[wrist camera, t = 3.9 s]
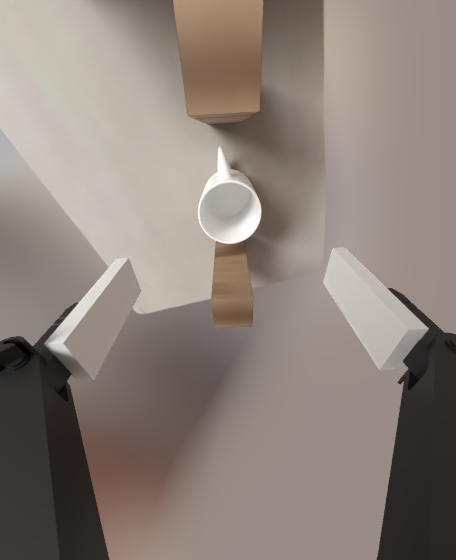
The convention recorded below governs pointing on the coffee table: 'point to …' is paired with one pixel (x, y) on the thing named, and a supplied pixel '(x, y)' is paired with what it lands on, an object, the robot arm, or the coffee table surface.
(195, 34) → the post near
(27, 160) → the coffee table surface
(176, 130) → the coffee table surface
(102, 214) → the coffee table surface
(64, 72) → the coffee table surface
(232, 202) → the mug
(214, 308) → the post far
